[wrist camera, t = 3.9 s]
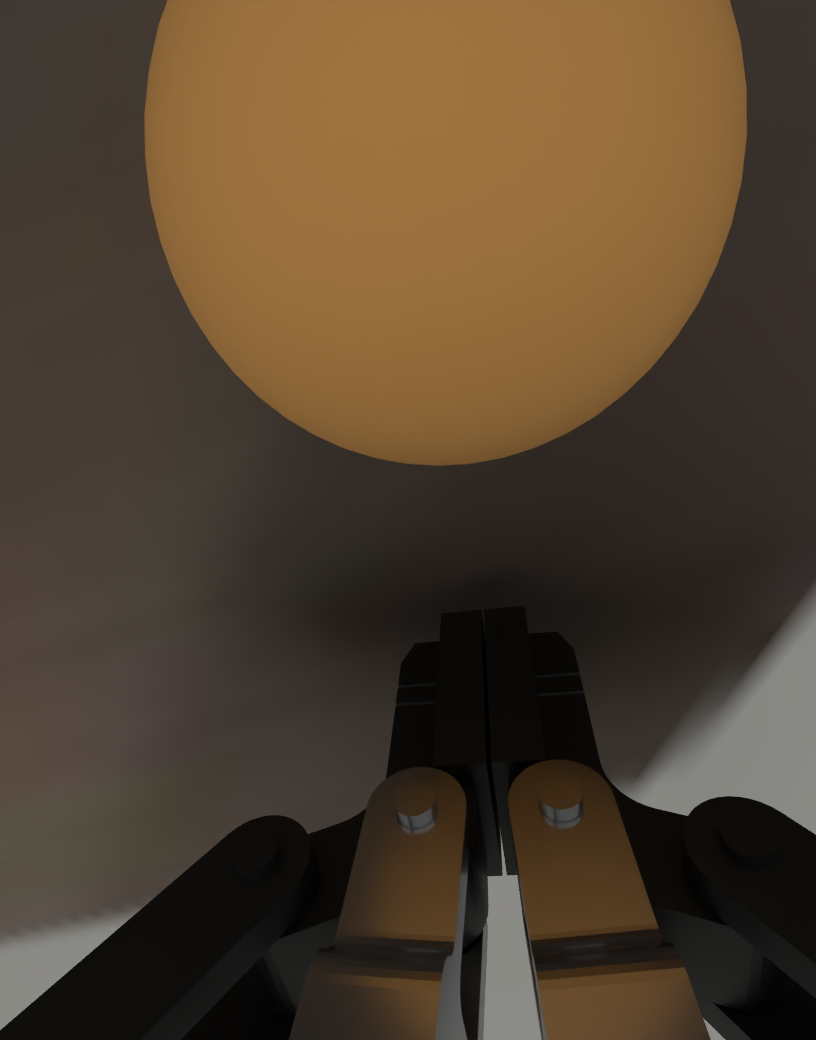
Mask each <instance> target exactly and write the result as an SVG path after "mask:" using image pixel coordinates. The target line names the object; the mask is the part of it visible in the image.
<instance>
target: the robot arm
mask: <svg viewBox="0 0 816 1040" xmlns="http://www.w3.org/2000/svg"><path fill="white" fill-rule="evenodd" d="M484 616H485V632H484V624H483V617H482V611H481V610H474V611H462V612H450V613H442V614H441V625H440V641H438V642H426V643H415V644H414V646H413V647H412V648H411V650H410V651H409V653H408V654H407V656H406V657H405V658H404V660H403V661H402V663H401V669H400V676H399V684H398V685H399V689H398V692H397V699H396V707H395V715H394V723H393V730H392V738H391V746H390V753H389V761H388V769H387V775H386V779H385V780H384V781H383V782H382V783H381V784H380V785H378V787H377V788H376V789H375V790H374V792H373V793H372V795H371V797H370V799H369V801H368V804H367V808H366V809H365V810H363V811H362V812H361V813H359V814H358V815H356V816H354V817H353V818H351V819H349V820H347V821H344V822H342V823H339V824H336V825H333V826H331V827H328V828H325V829H322V830H319V831H316V832H313V833H310V834H307V832H306V831H305V829H304V828H303V827H302V826H301V825H300V824H299V823H298V822H296V821H295V820H293V819H291V818H288V817H284V816H279V815H270V816H264V817H259V818H256V819H253V820H251V821H248V822H246V823H244V824H242V825H241V826H239V827H237V828H236V829H235V830H233V831H232V832H231V833H229V834H228V835H227V836H226V837H225V838H223V839H222V840H221V841H220V842H219V843H218V844H217V845H215V846H214V847H213V848H212V849H211V850H210V851H208V852H207V853H206V854H205V855H204V856H203V857H201V858H200V859H199V860H198V861H197V862H196V863H194V864H193V865H192V866H191V867H190V868H189V869H187V870H186V871H185V872H184V873H183V874H182V875H180V876H179V877H178V878H177V879H176V880H175V881H173V882H172V883H171V884H170V885H169V886H168V887H166V888H165V889H164V890H163V891H162V892H161V893H160V894H158V895H157V896H156V897H155V898H154V899H153V900H151V901H150V902H149V903H148V904H147V905H146V906H144V907H143V908H142V909H141V910H140V911H139V912H137V913H136V914H135V915H134V916H133V917H132V918H130V919H129V920H128V921H127V922H126V923H125V924H123V925H122V926H121V927H120V928H119V929H118V930H116V931H115V932H114V933H113V934H112V935H111V936H109V937H108V938H107V939H106V940H105V941H104V942H103V943H102V944H100V945H99V946H98V947H97V948H96V949H94V950H93V951H92V952H91V953H90V954H89V955H87V956H86V957H85V958H84V959H83V960H82V961H81V962H79V963H78V964H77V965H76V966H75V967H73V968H72V969H71V970H70V971H69V972H68V973H66V974H65V975H64V976H63V977H62V978H61V979H59V981H57V982H56V983H55V984H54V985H53V986H51V987H50V988H49V989H48V990H47V991H46V992H44V993H43V994H42V995H41V996H40V997H39V998H37V999H36V1000H35V1001H34V1002H33V1003H32V1004H30V1005H29V1006H28V1007H27V1008H26V1009H25V1010H24V1011H22V1012H21V1013H20V1014H19V1015H18V1016H17V1017H15V1018H14V1019H13V1020H12V1021H11V1022H9V1023H8V1024H7V1025H6V1026H5V1027H4V1028H2V1029H1V1030H0V1040H483V1029H484V1006H485V985H486V961H487V939H488V930H487V929H488V928H487V916H488V881H487V880H488V879H487V876H502V857H501V838H500V829H501V836H502V843H503V850H504V857H505V864H506V871H507V875H518V883H519V891H520V899H521V906H522V914H523V922H524V930H525V936H526V943H527V949H528V956H529V962H530V969H531V975H532V981H533V988H534V995H535V1001H536V1007H537V1013H538V1020H539V1027H540V1033H541V1040H710V1037H709V1034H708V1031H707V1028H706V1025H705V1023H704V1020H703V1018H704V1019H705V1020H706V1021H707V1022H708V1023H709V1024H710V1025H711V1026H712V1027H713V1028H714V1029H716V1031H717V1032H718V1033H719V1034H720V1035H721V1036H722V1037H723V1038H725V1039H726V1040H816V835H815V834H814V833H812V832H811V831H809V830H807V829H806V828H804V827H803V826H801V825H800V824H798V823H797V822H795V821H793V820H792V819H790V818H789V817H787V816H786V815H784V814H783V813H781V812H779V811H778V810H776V809H774V808H772V807H771V806H768V805H766V804H763V803H761V802H758V801H755V800H752V799H748V798H742V797H729V796H727V797H717V798H714V799H709V800H707V801H705V802H703V803H701V804H699V805H698V806H697V807H695V808H694V809H693V810H692V811H691V813H690V814H689V816H685V815H681V814H676V813H672V812H668V811H663V810H659V809H655V808H652V807H648V806H645V805H643V804H641V803H638V802H636V801H634V800H632V799H631V798H629V797H627V796H626V795H624V794H623V793H622V792H620V791H619V790H618V789H617V788H616V787H615V786H614V785H613V784H612V783H611V782H610V781H609V779H608V778H607V777H606V775H605V773H604V771H603V769H602V766H601V763H600V759H599V755H598V751H597V747H596V742H595V738H594V734H593V729H592V725H591V721H590V716H589V712H588V708H587V703H586V699H585V695H584V692H583V686H582V682H581V678H580V675H579V669H578V665H577V660H576V656H575V652H574V649H573V648H572V647H571V646H570V645H569V644H568V642H567V641H566V640H565V639H564V638H563V637H562V636H561V635H560V634H559V633H558V632H547V633H534V634H528V629H527V621H526V614H525V607H524V606H518V607H506V608H495V609H484ZM485 638H486V640H485Z"/></svg>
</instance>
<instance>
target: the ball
mask: <svg viewBox="0 0 816 1040" xmlns="http://www.w3.org/2000/svg"><path fill="white" fill-rule="evenodd" d="M144 121H145V162H146V170H147V178H148V185H149V193H150V201H151V205H152V209H153V213H154V217H155V222H156V226H157V230H158V234H159V238H160V242H161V245H162V247H163V250H164V253H165V256H166V258H167V261H168V264H169V267H170V269H171V272H172V275H173V278H174V280H175V282H176V284H177V286H178V288H179V290H180V292H181V294H182V296H183V298H184V300H185V302H186V304H187V306H188V308H189V310H190V312H191V314H192V316H193V317H194V319H195V320H196V322H197V323H198V325H199V327H200V328H201V330H202V331H203V333H204V334H205V336H206V337H207V339H208V341H209V342H210V344H211V345H212V346H213V348H214V349H215V350H216V351H217V352H218V354H219V355H220V356H221V357H222V359H223V360H224V361H225V362H226V364H227V365H228V366H229V367H230V368H231V370H232V371H233V372H234V373H235V374H236V375H237V376H238V377H239V378H240V379H241V380H242V381H243V382H244V383H245V384H246V385H247V386H248V387H249V388H250V389H251V390H252V391H253V392H254V393H255V394H256V395H257V396H258V397H259V398H261V399H262V400H263V401H265V402H266V403H267V404H269V405H270V406H271V407H272V408H274V409H275V410H276V411H278V412H279V413H280V414H281V415H283V416H284V417H285V418H287V419H289V420H290V421H292V422H293V423H295V424H297V425H298V426H300V427H302V428H303V429H305V430H307V431H308V432H310V433H312V434H313V435H315V436H318V437H320V438H322V439H324V440H327V441H329V442H331V443H333V444H335V445H338V446H340V447H342V448H344V449H348V450H351V451H354V452H357V453H360V454H364V455H367V456H370V457H373V458H377V459H383V460H388V461H394V462H399V463H405V464H417V465H434V466H443V465H459V464H472V463H478V462H483V461H489V460H494V459H500V458H504V457H507V456H511V455H514V454H517V453H520V452H523V451H527V450H530V449H533V448H536V447H538V446H540V445H542V444H545V443H547V442H549V441H551V440H554V439H556V438H558V437H560V436H562V435H565V434H567V433H568V432H570V431H572V430H573V429H575V428H577V427H578V426H580V425H582V424H583V423H585V422H587V421H588V420H590V419H592V418H593V417H595V416H597V415H598V414H599V413H600V412H602V411H603V410H604V409H606V408H607V407H608V406H610V405H611V404H612V403H613V402H615V401H616V400H617V399H619V398H620V397H621V396H623V395H624V394H625V393H626V392H627V391H628V390H629V389H630V388H631V387H632V386H633V385H634V384H635V383H636V382H637V381H638V380H639V379H640V378H641V377H643V376H644V375H645V374H646V373H647V372H648V371H649V370H650V369H651V368H652V367H653V365H654V364H655V363H656V362H657V360H658V359H659V358H660V357H661V356H662V354H663V353H664V352H665V351H666V349H667V348H668V347H669V346H670V345H671V343H672V342H673V341H674V340H675V338H676V337H677V336H678V334H679V332H680V331H681V329H682V328H683V326H684V325H685V323H686V322H687V320H688V318H689V317H690V315H691V314H692V312H693V311H694V309H695V308H696V306H697V304H698V303H699V301H700V299H701V297H702V295H703V293H704V291H705V289H706V287H707V285H708V282H709V280H710V278H711V276H712V274H713V272H714V270H715V268H716V266H717V264H718V261H719V258H720V255H721V253H722V250H723V247H724V244H725V241H726V239H727V236H728V233H729V230H730V227H731V225H732V220H733V216H734V212H735V208H736V203H737V199H738V195H739V190H740V186H741V182H742V174H743V165H744V156H745V147H746V138H747V87H746V79H745V72H744V64H743V57H742V49H741V42H740V37H739V33H738V29H737V25H736V22H735V18H734V14H733V11H732V7H731V3H730V0H167V3H166V5H165V8H164V11H163V14H162V17H161V20H160V23H159V26H158V30H157V35H156V40H155V44H154V49H153V53H152V58H151V62H150V67H149V73H148V84H147V94H146V104H145V114H144Z"/></svg>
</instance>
